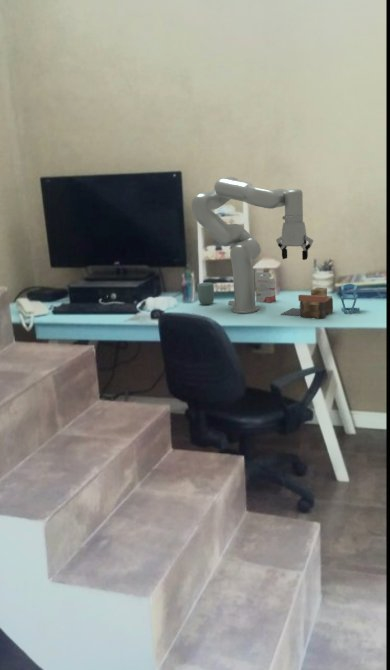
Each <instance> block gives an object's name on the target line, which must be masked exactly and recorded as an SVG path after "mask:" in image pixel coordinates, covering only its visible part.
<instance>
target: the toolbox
mask: <svg viewBox="0 0 390 670" xmlns="http://www.w3.org/2000/svg"><path fill="white" fill-rule="evenodd" d="M333 307H334V299H333V297H332V299H330V300H328V301H327V302H325V303H324V302H320V305H309V304H303V301H299V309H300V316H299V317H300V318H302V319H312V318H315V319H314V320H324V319H326V316H328V315H330V314H331V313H333V312H334V308H333Z"/></svg>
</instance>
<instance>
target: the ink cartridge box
mask: <svg viewBox="0 0 390 670" xmlns="http://www.w3.org/2000/svg"><path fill="white" fill-rule="evenodd" d="M275 279H276V278H275V277H272V276H271V275H270V272H266V271H265V272H264V271H263V272H262V271H261V272H260V271H254V284H255V303H265V304H266V303H267V304H271V303H275V302H276V299H277V298H276V282H275V281H276V280H275Z"/></svg>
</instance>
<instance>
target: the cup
mask: <svg viewBox="0 0 390 670" xmlns="http://www.w3.org/2000/svg"><path fill="white" fill-rule="evenodd" d="M196 288H197V298H198V301H199V303H200V304H201V305H207V306H208V305H212V303H213V302H214V300H215V287H214V283H213V282H199V283H198V284H197V286H196Z"/></svg>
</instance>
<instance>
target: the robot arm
mask: <svg viewBox="0 0 390 670" xmlns="http://www.w3.org/2000/svg"><path fill="white" fill-rule="evenodd" d="M213 186H214V187H213V190H210V191H202V192H199V193H197V194H195V195H194V197H193V198H192V200H191V213H192V215H193V217H194V219H195V220H196V222H197V223H199V225H201V227H202V228H204V229H205V230H206V231H207V233H209V235H211V236H212V237H213V239H214V240H216V242H217V243H219V245H221V246H223V247H231V246H232V247H231V248H230V252H229V258H230V261H231V270H232V277H233V295H234V296H233V297H234V300H229V301H228V303H227V305H228V306H231V307H232V308H231V312H233V313H235V314H251V313H256V312H258V311H259V310H260V307H259V305H256V288H255V270H254V266H253V263H252V261H253V260H256V259H257V258H259V257H260V255H261V251H262V249H261V245H260V243H259V242H258V240H257V239H255V238H254V237H253V236H252V235H251V234H250V233H249V232H248V231H247V230H246V229H245V228H244V227H243V226H241V225H240V224H237V223H230V224H229V223H227V222H225V221H224V220H223V218H221V217H220V215H218V214H216V213H215V212H213V210H216V209H219V208H221V207H222V206H223V205H225V204H226V203H228V202H230V200H235V201H239V202H244V203H246V204H248V205H251V206H254V207H258V208H264V209H268V210H269V209H270V210H271V209H272V210H273V209H276V208H280V207H284V216H282V220H284V221H283V223H282V228H281V236H280V237H277V238H276V239H275V241H276V243H277V247H279V248H280V250H281V257H282V258H281V259H282V260H285V259H288V249H287V248H288V247H300V248H301V249H302V251H301V253H302V255H301V256H302V258H301V259H302V260H303V261H306V260H307V259H308V257H309V252H308V250H310V248H311V247H312V245H313V242H314V239H312V238H310V237H308V236H307V229H306V224H305V222H304V213H303V212H304V211H303V210H304V209H303V208H304V207H303V206H304V205H303V201H304V200H303V198H304V196H303V190H302V189H299V188H296V189H293V188H292V189H284V188H279V189H278V188H276V189H271V190H268V189H264V188H259V187H255V186H253V184H252V183H251V182H248V181H242V180H239V178H236V177H234V176H227V177H220V178H219V179H217V181H215V183H214V185H213Z"/></svg>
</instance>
